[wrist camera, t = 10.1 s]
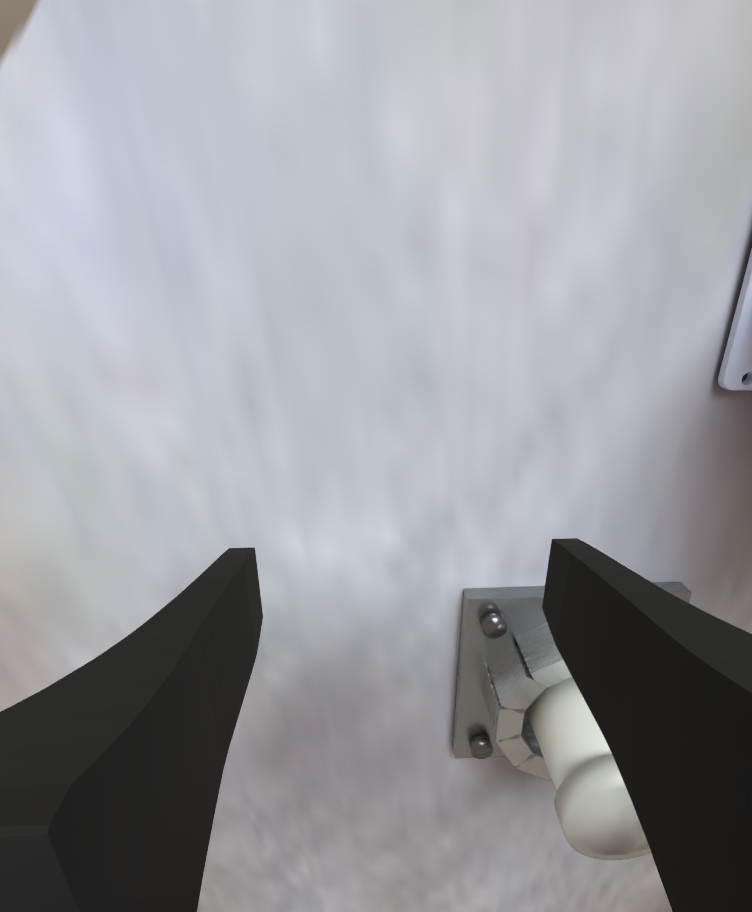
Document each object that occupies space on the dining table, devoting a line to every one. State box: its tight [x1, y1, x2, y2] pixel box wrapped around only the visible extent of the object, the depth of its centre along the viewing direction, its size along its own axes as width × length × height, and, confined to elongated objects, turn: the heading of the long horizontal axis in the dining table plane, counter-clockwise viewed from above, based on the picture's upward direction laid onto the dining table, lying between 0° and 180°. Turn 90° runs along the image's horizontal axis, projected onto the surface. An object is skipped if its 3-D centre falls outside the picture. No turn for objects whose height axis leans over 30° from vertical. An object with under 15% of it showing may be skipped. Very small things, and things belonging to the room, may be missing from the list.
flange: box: [453, 582, 691, 781], centre depth 25 cm, size 11×11×3 cm
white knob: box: [526, 677, 651, 860], centre depth 22 cm, size 5×5×7 cm
